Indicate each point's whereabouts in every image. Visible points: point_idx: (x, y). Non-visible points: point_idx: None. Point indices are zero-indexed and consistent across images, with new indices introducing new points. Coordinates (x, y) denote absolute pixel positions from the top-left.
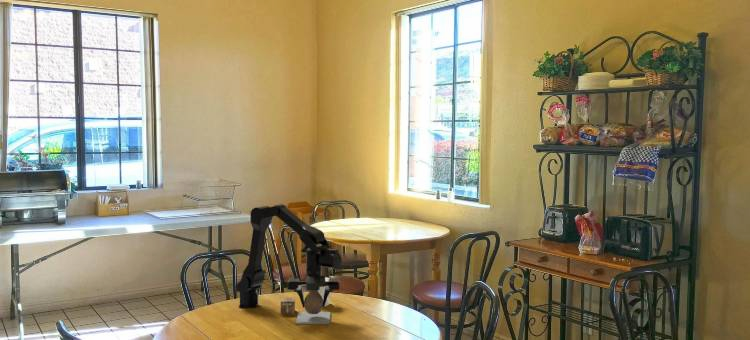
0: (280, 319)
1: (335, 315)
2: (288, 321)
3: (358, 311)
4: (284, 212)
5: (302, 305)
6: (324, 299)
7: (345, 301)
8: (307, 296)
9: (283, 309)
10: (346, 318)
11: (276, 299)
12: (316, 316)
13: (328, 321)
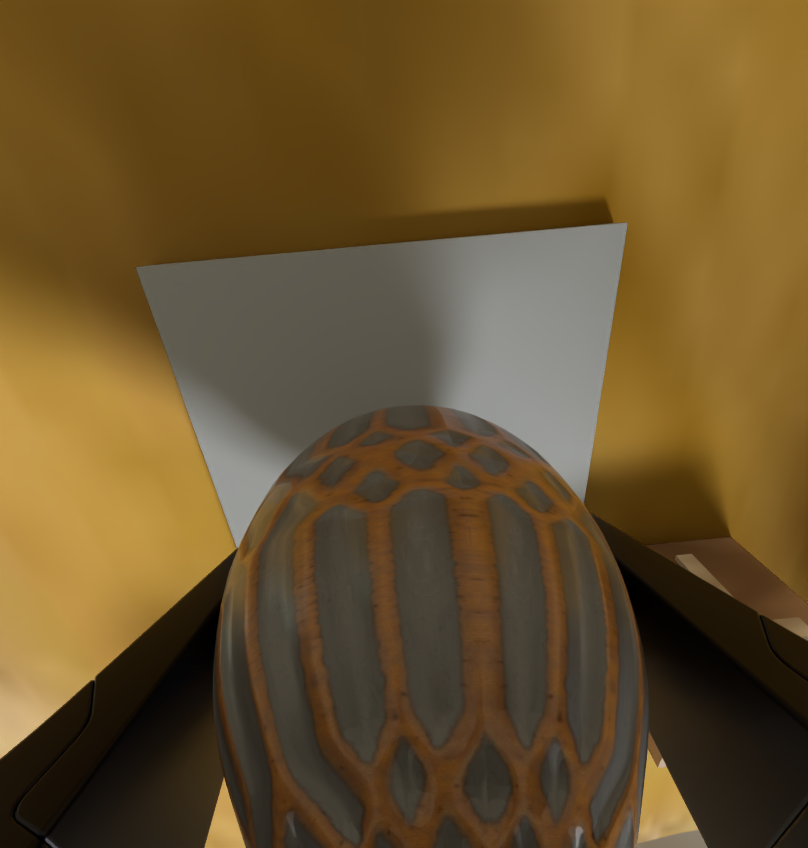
0: (769, 398)
1: (197, 557)
2: (694, 335)
3: (25, 661)
4: None
5: (613, 527)
6: (145, 669)
7: (228, 797)
8: (631, 706)
9: (744, 577)
10: (37, 487)
11: None
12: None
13: (171, 306)
